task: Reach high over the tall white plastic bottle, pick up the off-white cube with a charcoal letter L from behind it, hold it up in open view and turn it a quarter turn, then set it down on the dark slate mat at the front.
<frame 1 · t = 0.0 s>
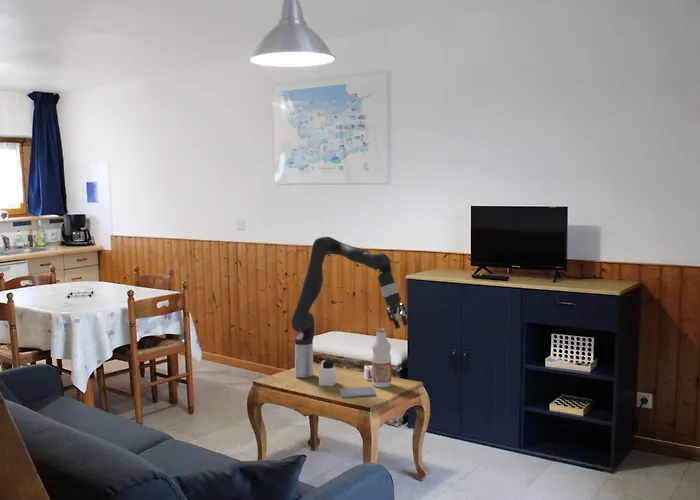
hand: (402, 326, 306), 31 cm above the table, tool tilted 20°, fingers open, 8 cm apart
letter cube: (371, 378, 331), on the table
slate mat: (357, 393, 308), on the table
white plastic bottle: (381, 385, 320), on the table
medicine bottle: (327, 384, 323), on the table
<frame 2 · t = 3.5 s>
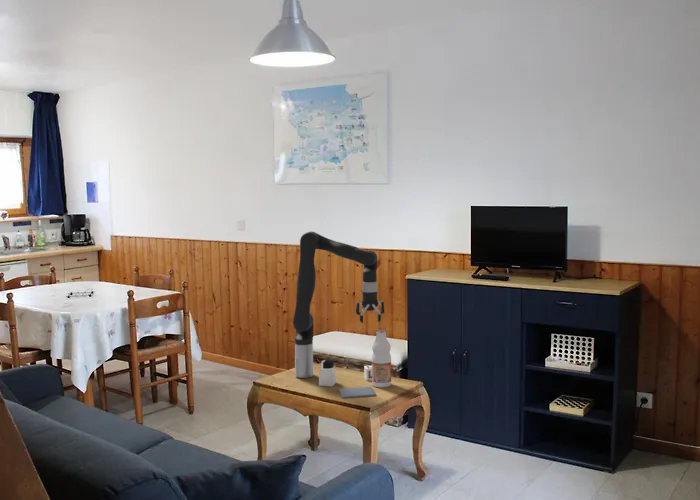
hand: (370, 322, 329), 29 cm above the table, tool pointing down, fingers open, 8 cm apart
nothing on the table moved.
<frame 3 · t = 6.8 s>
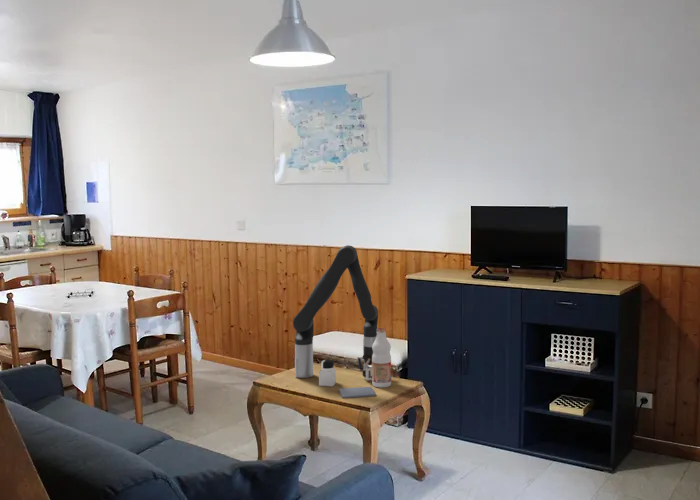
hand: (371, 376, 331), 1 cm above the table, tool pointing down, fingers closed on letter cube, 6 cm apart
letter cube: (371, 378, 331), on the table, touching gripper
everything else where it was.
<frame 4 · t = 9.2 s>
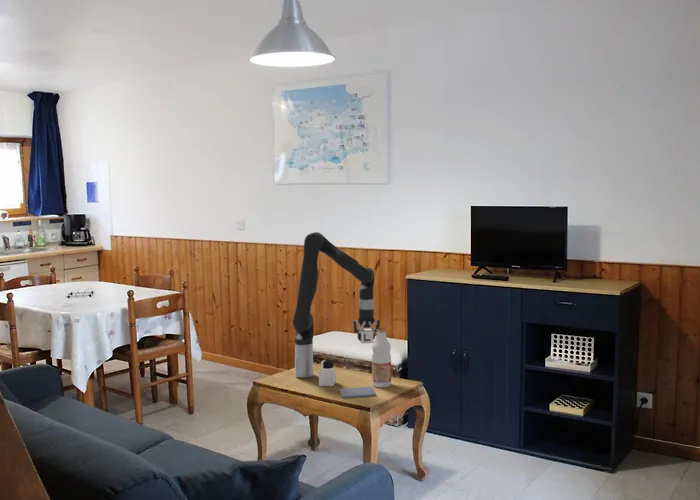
hand: (366, 340, 329), 20 cm above the table, tool pointing down, fingers closed on letter cube, 6 cm apart
letter cube: (366, 341, 329), point 19 cm above the table, touching gripper
everything else where it was.
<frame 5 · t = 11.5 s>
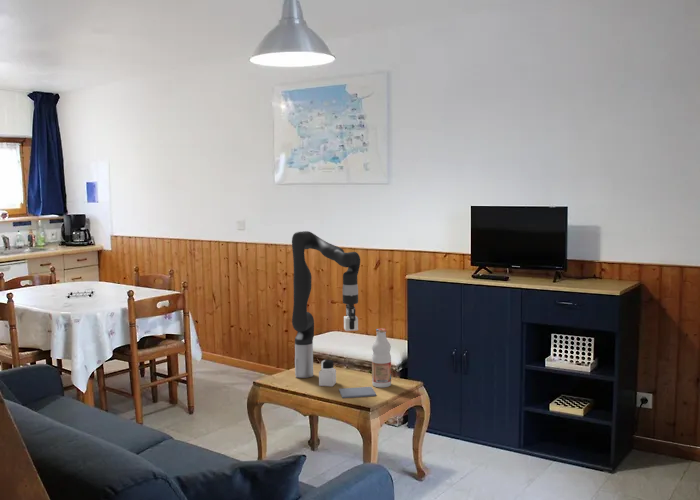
hand: (350, 327, 315), 30 cm above the table, tool pointing down, fingers closed on letter cube, 6 cm apart
letter cube: (350, 329, 315), point 29 cm above the table, touching gripper
everything else where it was.
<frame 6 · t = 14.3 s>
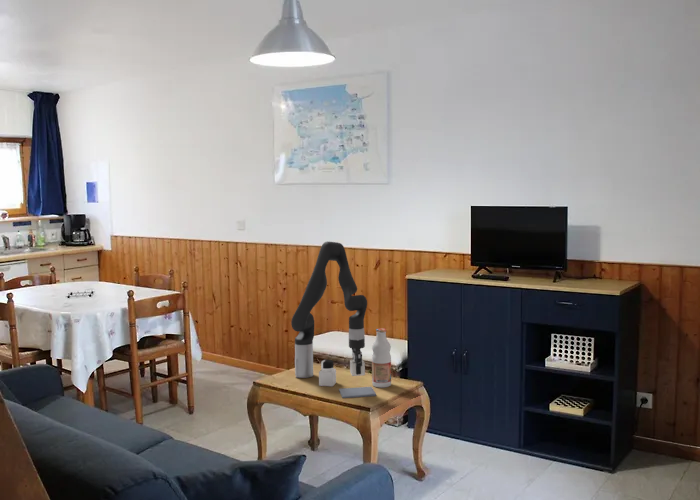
hand: (357, 372, 307), 10 cm above the table, tool pointing down, fingers closed on letter cube, 6 cm apart
letter cube: (357, 373, 307), point 9 cm above the table, touching gripper
everything else where it was.
when the fingers open (3 cm above the table, at t = 16.4 s): letter cube drops 1 cm, resting on slate mat.
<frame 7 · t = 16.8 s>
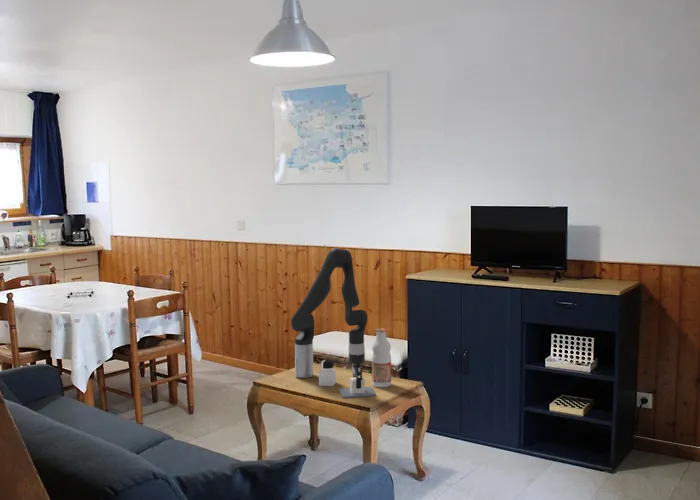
hand: (357, 385, 308), 4 cm above the table, tool pointing down, fingers open, 8 cm apart
letter cube: (357, 391, 308), point 1 cm above the table, touching slate mat
everything else where it was.
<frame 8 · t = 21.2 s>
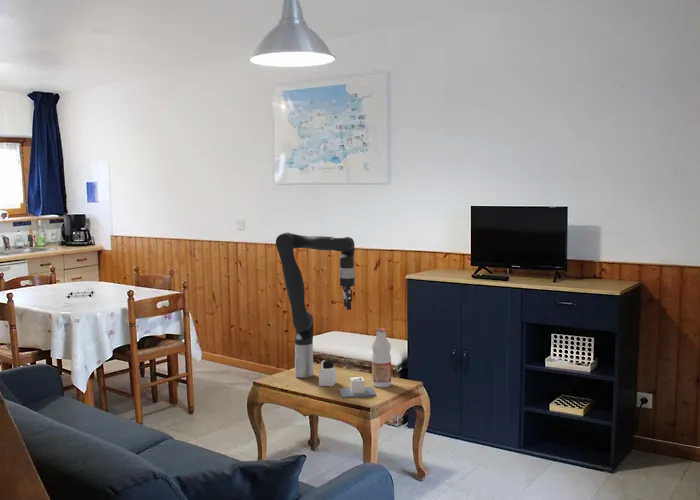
hand: (347, 308, 330), 36 cm above the table, tool pointing down, fingers open, 8 cm apart
nothing on the table moved.
at the end: letter cube inside the target area on the slate mat (0.1 cm from its centre), point 0.8 cm above the slate mat's base; letter cube tilted 0°; the gripper is holding nothing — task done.
